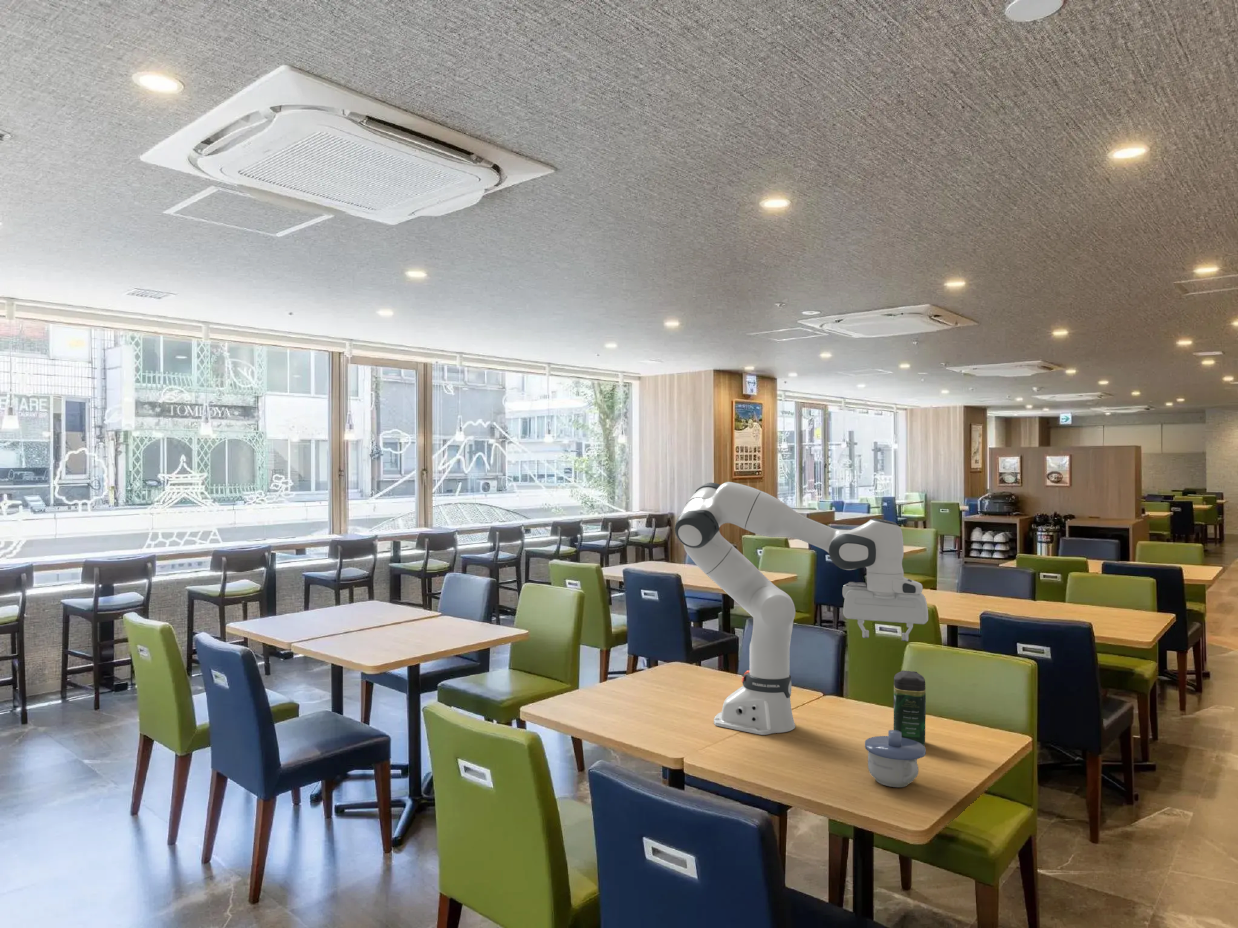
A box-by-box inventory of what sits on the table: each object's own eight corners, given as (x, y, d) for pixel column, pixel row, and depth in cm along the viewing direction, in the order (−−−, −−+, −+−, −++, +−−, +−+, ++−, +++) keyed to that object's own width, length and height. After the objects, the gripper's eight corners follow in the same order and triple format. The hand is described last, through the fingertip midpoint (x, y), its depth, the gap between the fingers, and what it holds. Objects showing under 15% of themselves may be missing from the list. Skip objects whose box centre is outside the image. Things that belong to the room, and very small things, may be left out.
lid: (862, 754, 177) (862, 736, 177) (867, 737, 189) (867, 720, 189) (924, 763, 172) (924, 744, 172) (926, 744, 184) (926, 727, 184)
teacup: (860, 774, 186) (860, 740, 187) (905, 773, 187) (905, 738, 187) (885, 798, 172) (885, 761, 173) (933, 796, 173) (933, 759, 174)
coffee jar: (926, 751, 202) (926, 678, 202) (893, 748, 204) (893, 675, 205) (924, 739, 211) (924, 669, 211) (893, 736, 214) (893, 667, 214)
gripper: (840, 582, 201) (840, 637, 201) (927, 587, 193) (927, 644, 192) (844, 579, 207) (844, 633, 206) (928, 584, 198) (928, 640, 198)
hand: (885, 638), depth 199 cm, fingers open, 8 cm apart
